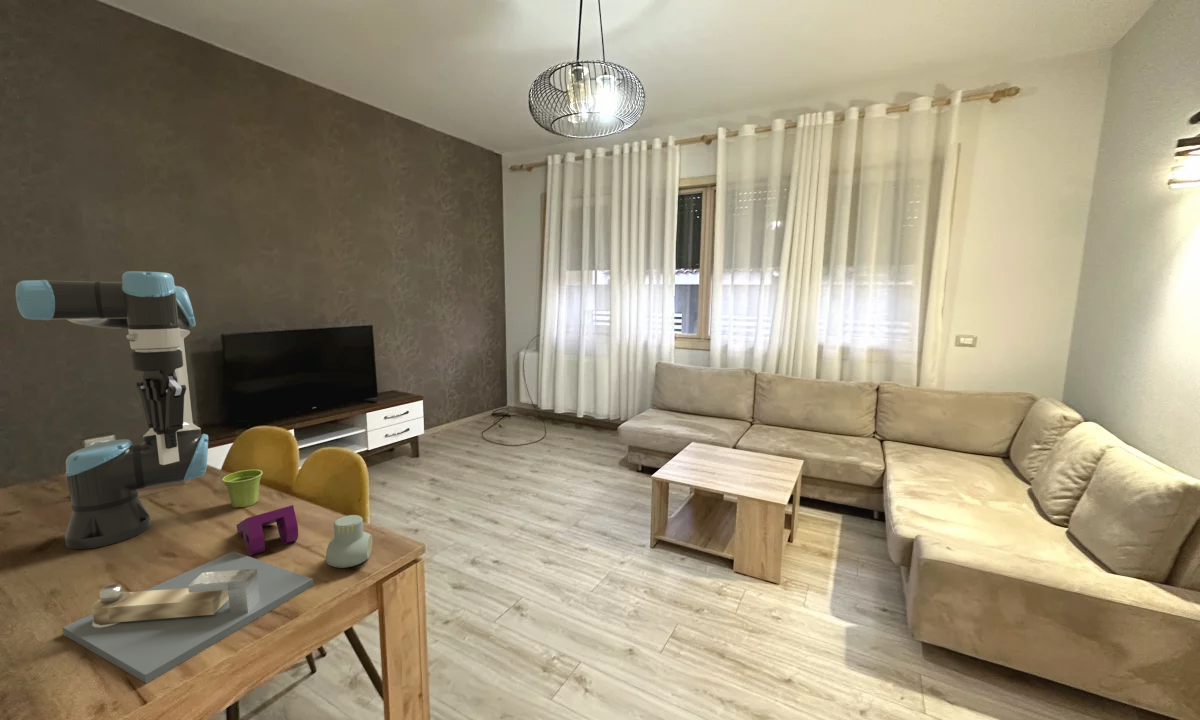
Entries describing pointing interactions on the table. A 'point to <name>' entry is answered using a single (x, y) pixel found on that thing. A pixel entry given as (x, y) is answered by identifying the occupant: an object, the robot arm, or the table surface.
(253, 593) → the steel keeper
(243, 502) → the plant pot
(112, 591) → the cylinder
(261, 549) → the mounting bracket
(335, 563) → the air freshener
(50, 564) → the table surface
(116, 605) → the brass bar
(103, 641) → the slate board
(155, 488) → the walnut can frame
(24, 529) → the table surface
